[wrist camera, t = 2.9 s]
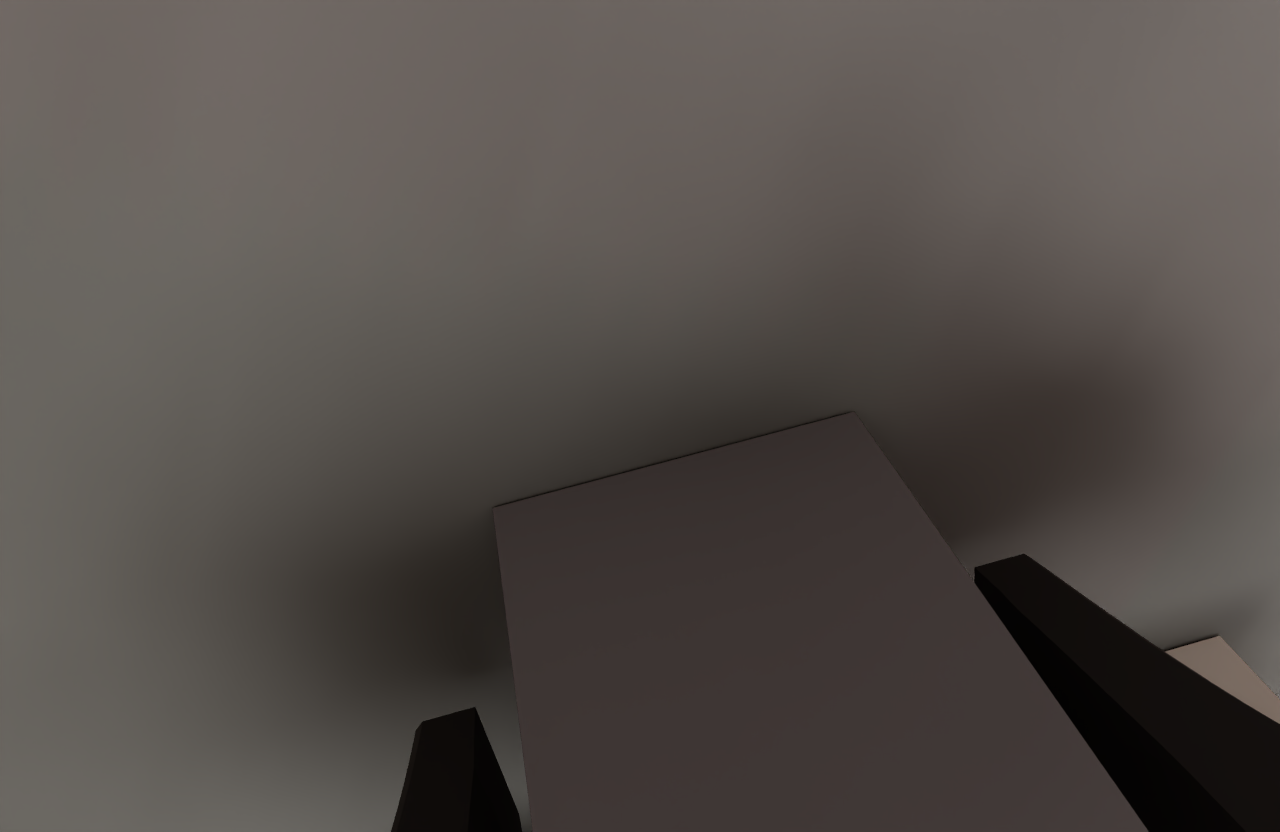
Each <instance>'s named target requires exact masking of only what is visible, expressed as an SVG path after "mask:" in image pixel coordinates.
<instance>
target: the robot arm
mask: <svg viewBox="0 0 1280 832" xmlns="http://www.w3.org/2000/svg"><path fill="white" fill-rule="evenodd" d="M974 583H975V584H976V586H977V587H978V589H979V590H980V592H981V593H982V594H983V596H984V597H985V599H986V600H987V602H988V603H989V604H990V606H991V607H992V609H993V610H994V611H995V613H996V614H997V616H998V617H999V619H1000V620H1001V621H1002V623H1003V624H1004V626H1005V627H1006V629H1007V630H1008V631H1009V633H1010V634H1011V636H1012V637H1013V639H1014V640H1015V641H1016V643H1017V644H1018V646H1019V647H1020V649H1021V650H1022V651H1023V653H1024V654H1025V656H1026V657H1027V659H1028V660H1029V661H1030V663H1031V664H1032V666H1033V667H1034V669H1035V670H1036V671H1037V673H1038V674H1039V676H1040V677H1041V679H1042V680H1043V681H1044V683H1045V684H1046V686H1047V687H1048V689H1049V690H1050V691H1051V693H1052V694H1053V696H1054V697H1055V699H1056V700H1057V701H1058V703H1059V704H1060V706H1061V707H1062V709H1063V710H1064V711H1065V713H1066V714H1067V716H1068V717H1069V719H1070V720H1071V721H1072V723H1073V724H1074V726H1075V727H1076V729H1077V730H1078V731H1079V733H1080V734H1081V736H1082V737H1083V739H1084V740H1085V741H1086V743H1087V744H1088V746H1089V747H1090V749H1091V750H1092V751H1093V753H1094V754H1095V756H1096V757H1097V759H1098V760H1099V761H1100V763H1101V764H1102V766H1103V767H1104V769H1105V770H1106V771H1107V773H1108V774H1109V776H1110V777H1111V779H1112V780H1113V781H1114V783H1115V784H1116V786H1117V787H1118V789H1119V790H1120V791H1121V793H1122V794H1123V796H1124V797H1125V799H1126V800H1127V801H1128V803H1129V804H1130V806H1131V807H1132V809H1133V810H1134V811H1135V813H1136V814H1137V816H1138V817H1139V819H1140V820H1141V821H1142V823H1143V824H1144V826H1145V827H1146V828H1147V830H1148V831H1149V832H1280V724H1279V723H1277V722H1276V721H1274V720H1272V719H1271V718H1269V717H1267V716H1266V715H1264V714H1262V713H1261V712H1259V711H1257V710H1255V709H1254V708H1252V707H1250V706H1249V705H1247V704H1245V703H1244V702H1242V701H1241V700H1239V699H1237V698H1236V697H1234V696H1233V695H1231V694H1229V693H1228V692H1226V691H1225V690H1223V689H1221V688H1220V687H1218V686H1217V685H1215V684H1213V683H1212V682H1210V681H1209V680H1207V679H1206V678H1204V677H1203V676H1201V675H1200V674H1198V673H1197V672H1195V671H1194V670H1192V669H1190V668H1189V667H1187V666H1186V665H1184V664H1183V663H1181V662H1180V661H1178V660H1177V659H1175V658H1174V657H1172V656H1171V655H1169V654H1168V653H1166V652H1164V651H1163V650H1161V649H1160V648H1158V647H1157V646H1155V645H1154V644H1152V643H1151V642H1150V641H1148V640H1147V639H1145V638H1144V637H1142V636H1141V635H1139V634H1138V633H1136V632H1135V631H1133V630H1132V629H1130V628H1129V627H1128V626H1126V625H1125V624H1123V623H1122V622H1120V621H1119V620H1118V619H1116V618H1115V617H1113V616H1112V615H1110V614H1109V613H1108V612H1106V611H1105V610H1103V609H1102V608H1100V607H1099V606H1098V605H1096V604H1095V603H1093V602H1092V601H1091V600H1089V599H1088V598H1086V597H1085V596H1084V595H1082V594H1081V593H1079V592H1078V591H1077V590H1075V589H1074V588H1072V587H1071V586H1070V585H1068V584H1067V583H1065V582H1064V581H1063V580H1061V579H1060V578H1058V577H1057V576H1056V575H1054V574H1053V573H1051V572H1050V571H1049V570H1047V569H1046V568H1044V567H1043V566H1042V565H1040V564H1039V563H1037V562H1036V561H1035V560H1033V559H1032V558H1030V557H1028V556H1027V555H1025V554H1021V555H1018V556H1014V557H1010V558H1007V559H1003V560H1000V561H996V562H993V563H989V564H985V565H982V566H978V567H975V581H974ZM391 832H522V828H521V822H520V816H519V813H518V810H517V808H516V805H515V803H514V800H513V798H512V796H511V793H510V791H509V788H508V786H507V783H506V781H505V779H504V776H503V774H502V771H501V769H500V766H499V764H498V762H497V759H496V757H495V754H494V752H493V749H492V747H491V745H490V742H489V740H488V737H487V735H486V732H485V730H484V728H483V725H482V723H481V720H480V718H479V715H478V713H477V711H476V708H475V707H473V708H470V709H466V710H463V711H459V712H455V713H452V714H448V715H445V716H441V717H438V718H434V719H430V720H427V721H423V722H422V723H421V724H420V726H419V727H418V729H417V730H416V732H415V737H414V742H413V747H412V752H411V756H410V761H409V765H408V769H407V773H406V778H405V782H404V786H403V790H402V794H401V797H400V801H399V805H398V809H397V812H396V816H395V819H394V823H393V827H392V830H391Z"/></svg>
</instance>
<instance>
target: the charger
mask: <svg viewBox="0 0 1280 832" xmlns="http://www.w3.org/2000/svg"><path fill="white" fill-rule="evenodd" d="M493 515H494V524H495V532H496V540H497V548H498V556H499V564H500V572H501V580H502V588H503V596H504V604H505V612H506V620H507V628H508V636H509V644H510V652H511V660H512V668H513V676H514V684H515V692H516V700H517V708H518V716H519V725H520V733H521V741H522V749H523V757H524V765H525V773H526V781H527V789H528V797H529V805H530V813H531V821H532V829H533V832H1149V831H1148V830H1147V828H1146V827H1145V826H1144V824H1143V823H1142V821H1141V820H1140V819H1139V817H1138V816H1137V814H1136V813H1135V811H1134V810H1133V809H1132V807H1131V806H1130V804H1129V803H1128V801H1127V800H1126V799H1125V797H1124V796H1123V794H1122V793H1121V791H1120V790H1119V789H1118V787H1117V786H1116V784H1115V783H1114V781H1113V780H1112V779H1111V777H1110V776H1109V774H1108V773H1107V771H1106V770H1105V769H1104V767H1103V766H1102V764H1101V763H1100V761H1099V760H1098V759H1097V757H1096V756H1095V754H1094V753H1093V751H1092V750H1091V749H1090V747H1089V746H1088V744H1087V743H1086V741H1085V740H1084V739H1083V737H1082V736H1081V734H1080V733H1079V731H1078V730H1077V729H1076V727H1075V726H1074V724H1073V723H1072V721H1071V720H1070V719H1069V717H1068V716H1067V714H1066V713H1065V711H1064V710H1063V709H1062V707H1061V706H1060V704H1059V703H1058V701H1057V700H1056V699H1055V697H1054V696H1053V694H1052V693H1051V691H1050V690H1049V689H1048V687H1047V686H1046V684H1045V683H1044V681H1043V680H1042V679H1041V677H1040V676H1039V674H1038V673H1037V671H1036V670H1035V669H1034V667H1033V666H1032V664H1031V663H1030V661H1029V660H1028V659H1027V657H1026V656H1025V654H1024V653H1023V651H1022V650H1021V649H1020V647H1019V646H1018V644H1017V643H1016V641H1015V640H1014V639H1013V637H1012V636H1011V634H1010V633H1009V631H1008V630H1007V629H1006V627H1005V626H1004V624H1003V623H1002V621H1001V620H1000V619H999V617H998V616H997V614H996V613H995V611H994V610H993V609H992V607H991V606H990V604H989V603H988V602H987V600H986V599H985V597H984V596H983V594H982V593H981V592H980V590H979V589H978V587H977V586H976V584H975V583H974V582H973V580H972V579H971V577H970V576H969V574H968V573H967V572H966V570H965V569H964V567H963V566H962V564H961V563H960V562H959V560H958V559H957V557H956V556H955V554H954V553H953V552H952V550H951V549H950V547H949V546H948V544H947V543H946V542H945V540H944V539H943V537H942V536H941V534H940V533H939V532H938V530H937V529H936V527H935V526H934V524H933V523H932V522H931V520H930V519H929V517H928V516H927V514H926V513H925V512H924V510H923V509H922V507H921V506H920V504H919V503H918V502H917V500H916V499H915V497H914V496H913V494H912V493H911V492H910V490H909V489H908V487H907V486H906V484H905V483H904V482H903V480H902V479H901V477H900V476H899V474H898V473H897V472H896V470H895V469H894V467H893V466H892V464H891V463H890V462H889V460H888V459H887V457H886V456H885V454H884V453H883V452H882V450H881V449H880V447H879V446H878V444H877V443H876V442H875V440H874V439H873V437H872V436H871V434H870V433H869V432H868V430H867V429H866V427H865V426H864V424H863V423H862V422H861V420H860V419H859V417H858V416H857V414H856V413H855V412H851V413H847V414H844V415H840V416H836V417H832V418H829V419H825V420H821V421H817V422H814V423H810V424H806V425H802V426H799V427H795V428H791V429H787V430H784V431H780V432H776V433H772V434H769V435H765V436H761V437H757V438H754V439H750V440H746V441H742V442H739V443H735V444H731V445H727V446H724V447H720V448H716V449H712V450H709V451H705V452H701V453H697V454H694V455H690V456H686V457H682V458H679V459H675V460H671V461H667V462H664V463H660V464H656V465H652V466H649V467H645V468H641V469H637V470H634V471H630V472H626V473H622V474H619V475H615V476H611V477H607V478H604V479H600V480H596V481H592V482H589V483H585V484H581V485H577V486H574V487H570V488H566V489H562V490H559V491H555V492H551V493H547V494H544V495H540V496H536V497H532V498H528V499H525V500H521V501H517V502H513V503H510V504H506V505H502V506H498V507H495V508H493Z"/></svg>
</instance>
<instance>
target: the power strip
mask: <svg viewBox="0 0 1280 832" xmlns="http://www.w3.org/2000/svg"><path fill="white" fill-rule="evenodd" d="M1165 652H1166V653H1168V654H1169V655H1171V656H1172V657H1174V658H1175V659H1177V660H1178V661H1180V662H1181V663H1183V664H1184V665H1186V666H1187V667H1189V668H1190V669H1192V670H1194V671H1195V672H1197V673H1198V674H1200V675H1201V676H1203V677H1204V678H1206V679H1207V680H1209V681H1210V682H1212V683H1213V684H1215V685H1217V686H1218V687H1220V688H1221V689H1223V690H1225V691H1226V692H1228V693H1229V694H1231V695H1233V696H1234V697H1236V698H1237V699H1239V700H1241V701H1242V702H1244V703H1245V704H1247V705H1249V706H1250V707H1252V708H1254V709H1255V710H1257V711H1259V712H1261V713H1262V714H1264V715H1266V716H1267V717H1269V718H1271V719H1272V720H1274V721H1276V722H1277V723H1279V724H1280V699H1279V698H1278V697H1277V696H1276V695H1275V694H1274V693H1273V692H1272V691H1271V690H1270V689H1269V688H1268V687H1267V685H1266V684H1265V683H1264V682H1263V681H1262V680H1261V679H1260V678H1259V677H1258V676H1257V675H1256V674H1255V673H1254V672H1253V671H1252V670H1251V668H1250V667H1249V666H1248V665H1247V664H1246V663H1245V662H1244V661H1243V660H1242V659H1241V658H1240V657H1239V656H1238V655H1237V654H1236V652H1235V651H1234V650H1233V649H1232V648H1231V647H1230V646H1229V645H1228V644H1227V643H1226V642H1225V641H1224V640H1223V639H1222V638H1221V636H1217V637H1214V638H1210V639H1207V640H1203V641H1200V642H1196V643H1193V644H1189V645H1186V646H1183V647H1179V648H1176V649H1172V650H1169V651H1165Z"/></svg>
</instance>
